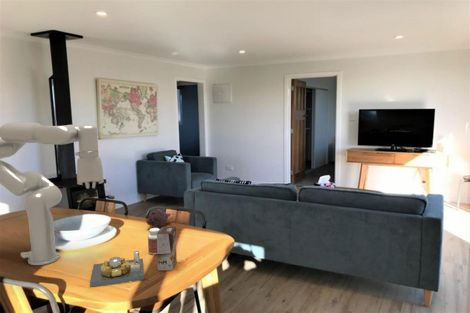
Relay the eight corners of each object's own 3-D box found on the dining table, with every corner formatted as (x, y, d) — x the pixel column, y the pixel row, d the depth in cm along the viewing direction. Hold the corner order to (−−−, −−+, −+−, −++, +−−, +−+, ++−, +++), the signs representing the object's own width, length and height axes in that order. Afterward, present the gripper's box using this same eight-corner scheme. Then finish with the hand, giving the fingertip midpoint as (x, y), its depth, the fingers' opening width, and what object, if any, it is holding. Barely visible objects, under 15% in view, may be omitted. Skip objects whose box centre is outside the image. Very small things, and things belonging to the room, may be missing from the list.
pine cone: (153, 232, 194) (152, 214, 192) (140, 229, 199) (139, 212, 197) (174, 223, 209) (174, 206, 207) (161, 220, 214) (161, 204, 212)
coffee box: (172, 270, 150) (171, 233, 147) (157, 270, 150) (156, 233, 148) (177, 261, 159) (176, 226, 157) (162, 261, 159) (161, 226, 157)
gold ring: (101, 278, 138) (101, 263, 137) (100, 267, 148) (99, 252, 147) (142, 271, 144) (141, 256, 143) (138, 260, 154) (137, 247, 153)
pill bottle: (162, 254, 166) (161, 231, 165) (148, 255, 165) (147, 232, 163) (161, 249, 172) (161, 226, 171) (148, 250, 171) (147, 227, 169)
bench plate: (90, 287, 137) (89, 269, 136) (93, 268, 152) (92, 252, 151) (144, 279, 142) (143, 263, 141) (142, 262, 157) (142, 247, 156)
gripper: (68, 156, 147) (71, 200, 149) (107, 155, 151) (109, 197, 154) (71, 154, 154) (74, 196, 157) (108, 152, 158) (110, 193, 161)
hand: (91, 196), depth 155 cm, fingers closed
